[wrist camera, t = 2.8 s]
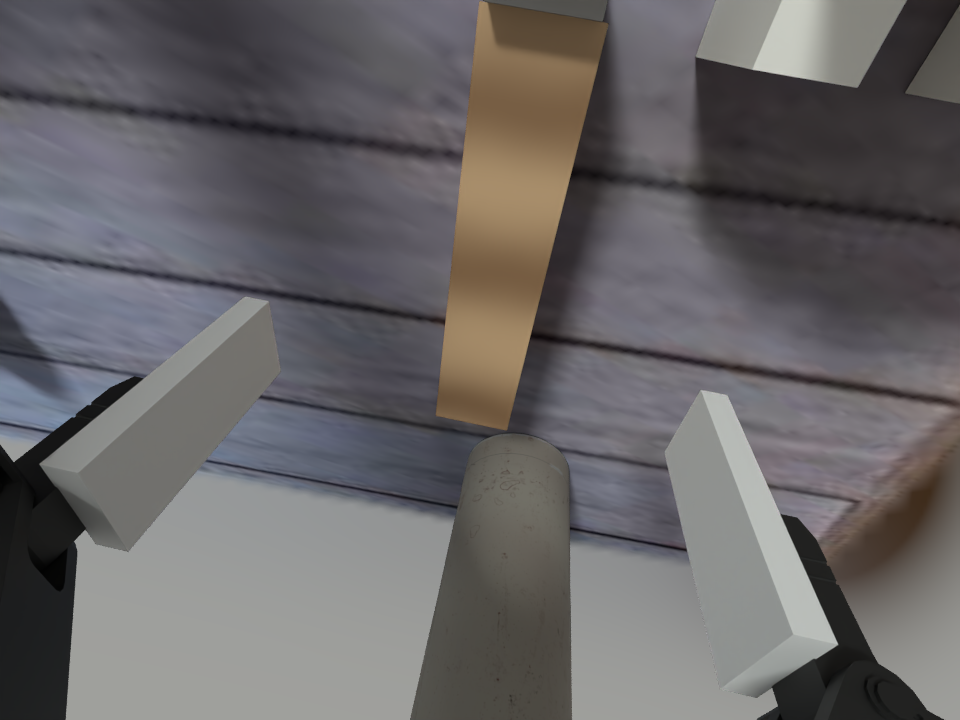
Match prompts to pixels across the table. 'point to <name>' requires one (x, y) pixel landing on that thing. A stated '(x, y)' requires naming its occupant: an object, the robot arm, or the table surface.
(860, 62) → the white block with nub
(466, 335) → the tan piece
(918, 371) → the table surface
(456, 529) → the thermos bottle
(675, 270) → the table surface
